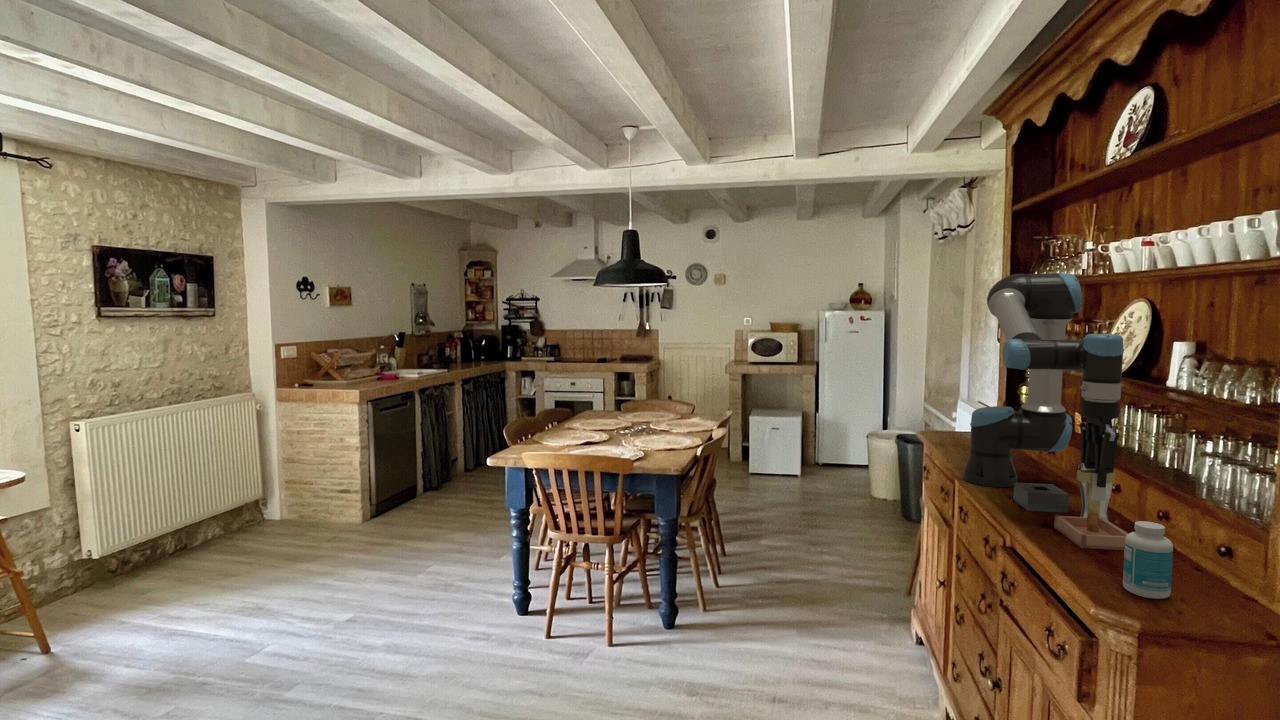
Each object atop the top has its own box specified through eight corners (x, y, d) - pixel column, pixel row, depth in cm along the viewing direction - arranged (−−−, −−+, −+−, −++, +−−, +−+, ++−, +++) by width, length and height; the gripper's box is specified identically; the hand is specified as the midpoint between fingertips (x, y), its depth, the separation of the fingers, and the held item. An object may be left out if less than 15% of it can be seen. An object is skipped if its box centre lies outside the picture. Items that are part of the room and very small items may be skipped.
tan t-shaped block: (1106, 529, 158) (1109, 470, 156) (1111, 533, 155) (1115, 473, 154) (1074, 528, 159) (1077, 469, 157) (1078, 531, 156) (1082, 472, 155)
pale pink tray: (1054, 527, 165) (1054, 515, 165) (1103, 529, 163) (1103, 518, 163) (1081, 547, 151) (1081, 535, 151) (1134, 550, 149) (1135, 538, 149)
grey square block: (1013, 499, 188) (1014, 482, 187) (1051, 501, 186) (1052, 484, 186) (1027, 510, 178) (1028, 492, 177) (1067, 512, 176) (1068, 494, 176)
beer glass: (1115, 526, 165) (1119, 468, 164) (1084, 525, 166) (1088, 467, 165) (1102, 517, 172) (1105, 461, 171) (1072, 516, 173) (1075, 460, 172)
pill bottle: (1179, 597, 126) (1184, 528, 125) (1153, 603, 124) (1158, 533, 122) (1138, 581, 133) (1142, 516, 132) (1113, 587, 131) (1117, 521, 129)
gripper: (1067, 394, 162) (1062, 487, 165) (1099, 404, 147) (1093, 507, 149) (1101, 395, 161) (1095, 489, 163) (1137, 405, 146) (1130, 508, 148)
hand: (1094, 497), depth 156 cm, fingers open, 3 cm apart
